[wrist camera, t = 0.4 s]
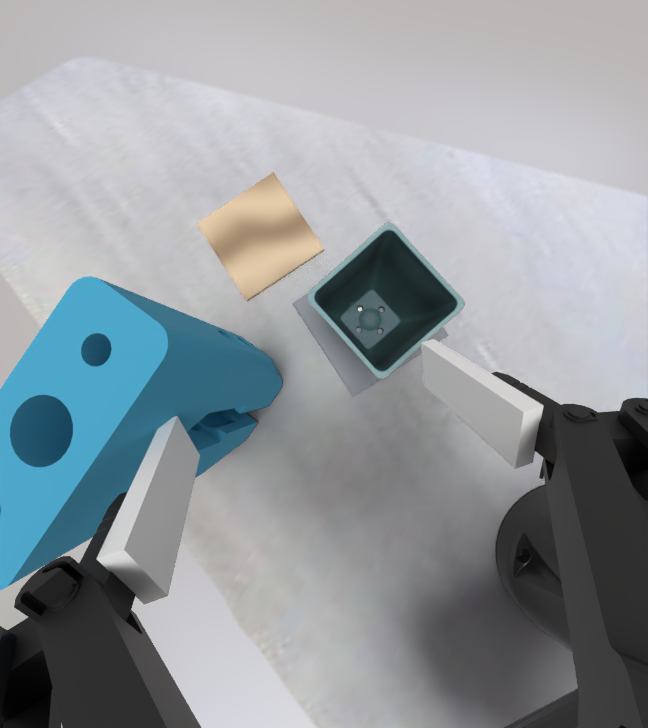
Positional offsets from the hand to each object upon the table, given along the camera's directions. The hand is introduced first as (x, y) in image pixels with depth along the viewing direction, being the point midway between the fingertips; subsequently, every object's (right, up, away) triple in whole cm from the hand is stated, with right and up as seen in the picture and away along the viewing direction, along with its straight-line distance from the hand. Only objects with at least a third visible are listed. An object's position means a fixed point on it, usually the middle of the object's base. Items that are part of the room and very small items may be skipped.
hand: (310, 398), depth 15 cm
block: (-8, -2, +16) cm, 18 cm away
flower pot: (+6, +7, +15) cm, 18 cm away
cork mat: (-6, +16, +16) cm, 23 cm away
